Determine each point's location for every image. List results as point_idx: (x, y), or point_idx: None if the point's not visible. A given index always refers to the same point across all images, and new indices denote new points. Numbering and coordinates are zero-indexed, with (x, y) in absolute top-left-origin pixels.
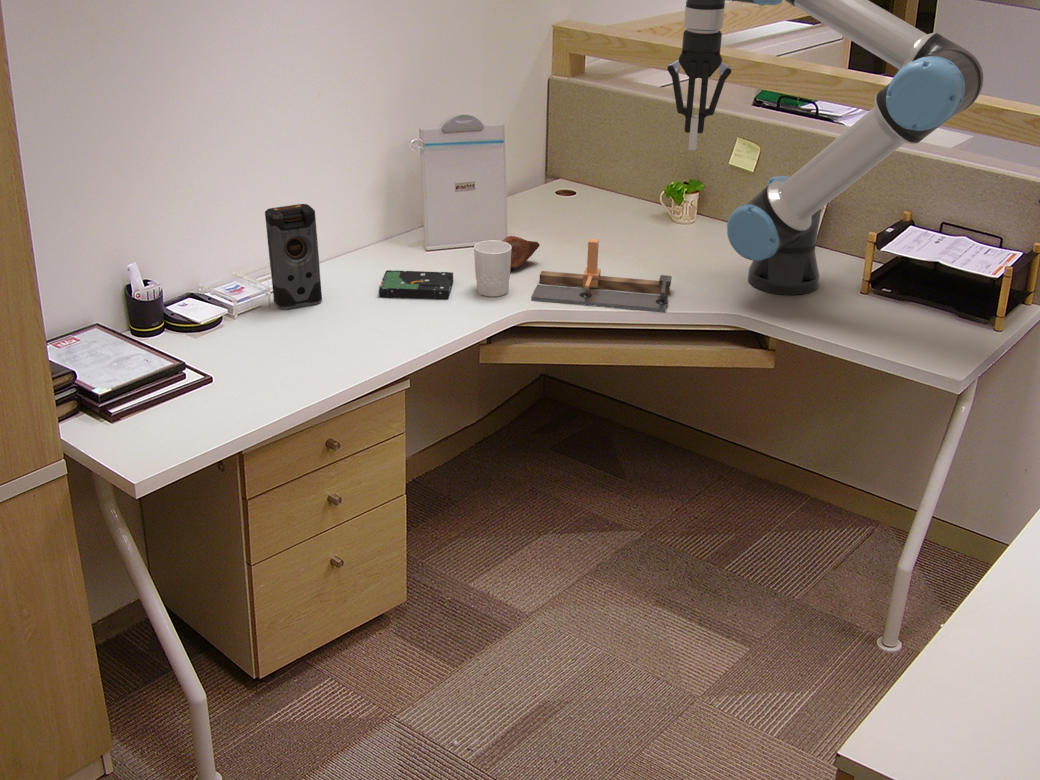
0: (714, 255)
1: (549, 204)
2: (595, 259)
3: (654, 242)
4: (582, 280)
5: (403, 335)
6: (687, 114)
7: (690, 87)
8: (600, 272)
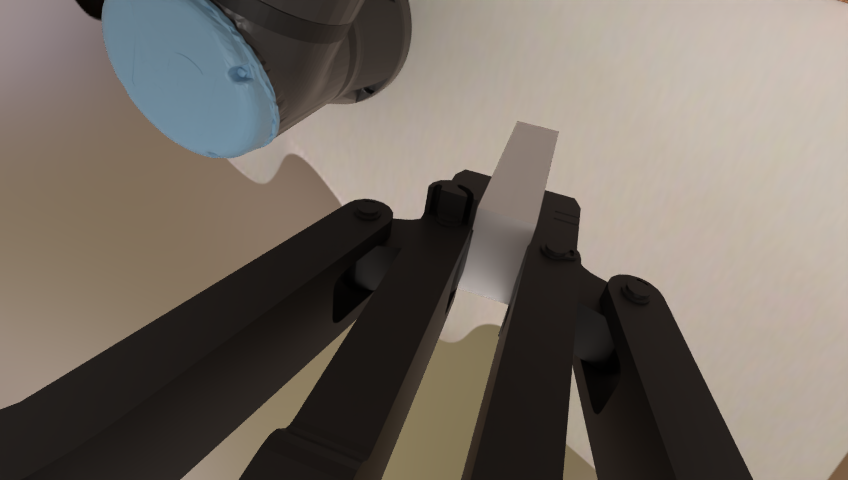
0: None
1: (745, 458)
2: None
3: None
4: None
5: None
6: (567, 251)
7: (529, 467)
8: (843, 1)
